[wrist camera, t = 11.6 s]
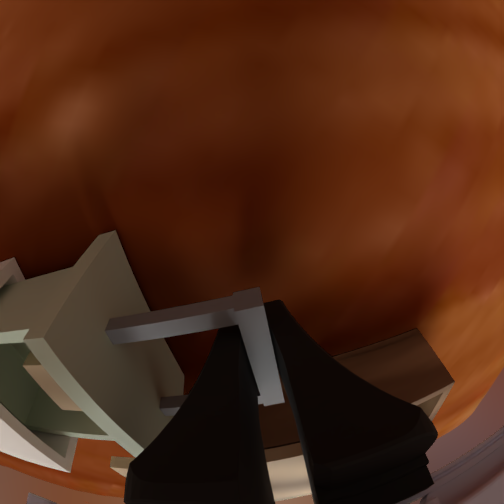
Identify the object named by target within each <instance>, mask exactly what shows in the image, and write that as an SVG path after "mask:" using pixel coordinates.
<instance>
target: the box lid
mask: <svg viewBox="0 0 504 504" xmlns="http://www.w3.org/2000/svg"><path fill="white" fill-rule="evenodd" d="M264 451H265V457H266V462H267V467H268V472H269V477H270V482H271V487H272V491H273V496H274V500H275V501H280V500H286V499H291V498H296V497H301V496H305V495H310V494H312V492H311V487H310V483H309V478H308V474H307V470H306V465H305V461H304V456H303V452H302V448H301V443H296V444H291V445H286V446H282V447H277V448H271V449H266V450H264ZM134 459H135V458H126V457H113V456H112V457H111V463H110V467H111V468H112V469H114V470H115V471H117V472H118V473H120V474H121V475H123V476H124V477H126V476H127V472H128V468H129V463H130V462H131V461H133V460H134ZM312 497H313V496H312Z"/></svg>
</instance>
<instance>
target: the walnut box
mask: <svg viewBox="0 0 504 504" xmlns="http://www.w3.org/2000/svg"><path fill="white" fill-rule="evenodd" d="M333 358H334V359H335V360H337V361H338V362H339V363H340V364H342V365H343V366H344V367H346V368H347V369H349V370H350V371H351V372H353V373H354V374H356V375H357V376H359V377H361V378H362V379H364V380H366V381H367V382H369V383H371V384H372V385H374V386H376V387H377V388H379V389H381V390H383V391H385V392H387V393H389V394H391V395H393V396H395V397H397V398H399V399H402V400H404V401H406V402H409V403H411V404H414V405H416V406H419V407H421V408H422V409H423V411H424V412H425V413H426V415H427V416H428V417H429V419H430V420H431V421H432V420H433V418H434V417H435V415H436V414H437V412H438V410H439V409H440V407H441V405H442V404H443V402H444V400H445V399H446V397H447V395H448V393H449V391H450V390H451V388H452V386H453V384H454V382H455V381H454V380H453V378H452V377H451V375H450V374H449V372H448V371H447V369H446V368H445V366H444V365H443V363H442V362H441V361H440V359H439V358H438V356H437V355H436V354H435V352H434V351H433V349H432V348H431V347H430V345H429V344H428V342H427V341H426V340H425V338H424V337H423V336H422V334H421V333H420V331H419V330H418V329H417V328H416V329H414V330H411V331H409V332H406V333H403V334H401V335H398V336H395V337H393V338H390V339H387V340H384V341H381V342H378V343H375V344H372V345H369V346H366V347H363V348H360V349H357V350H354V351H350V352H347V353H344V354H340V355H337V356H333ZM278 374H279V371H278ZM279 378H280V383H281V388H282V392H283V397H284V402H283V403H279V404H274V405H269V406H264V404H258V408H259V421H260V429H261V435H262V440H263V446H264V450H266V449H271V448H277V447H282V446H286V445H291V444H296V443H300V439H299V435H298V431H297V426H296V422H295V418H294V415H293V412H292V409H291V406H290V403H289V400H288V397H287V394H286V391H285V388H284V385H283V383H282V380H281V377H280V374H279Z"/></svg>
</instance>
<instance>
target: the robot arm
mask: <svg viewBox="0 0 504 504" xmlns="http://www.w3.org/2000/svg"><path fill="white" fill-rule="evenodd" d="M263 304H264V308H265V313H266V318H267V322H268V327H269V332H270V336H271V341H272V346H273V350H274V355H275V360H276V364H277V368H278V371H279V374H280V377H281V380H282V383H283V385H284V388H285V391H286V394H287V397H288V400H289V403H290V406H291V409H292V412H293V415H294V418H295V422H296V426H297V431H298V435H299V439H300V443H301V448H302V452H303V456H304V461H305V465H306V470H307V474H308V478H309V483H310V487H311V492H312V496H313V501H314V504H410V503H412V502H414V501H416V500H418V499H420V498H422V497H423V498H422V499H421V501H420V504H504V426H503V427H502V428H500V429H499V430H498V431H497V432H495V433H494V434H493V435H491V436H490V437H489V438H487V439H486V440H485V441H483V442H482V443H480V444H479V445H477V446H476V447H475V448H473V449H471V450H470V451H468V452H467V453H465V454H464V455H462V456H461V457H459V458H457V459H456V460H454V461H452V462H451V463H449V464H448V465H446V466H444V467H442V468H441V469H439V470H437V471H435V472H433V473H431V474H430V472H429V470H428V468H427V466H426V465H427V464H428V463H429V460H428V458H427V456H426V454H425V453H426V451H427V450H428V449H429V448H430V447H431V446H432V444H433V443H434V442H435V440H436V438H437V436H438V432H437V430H436V428H435V426H434V425H433V423H432V421H431V420H430V419H429V417H428V416H427V415H426V413H425V412H424V411H423V409H422V408H421V407H419V406H416V405H414V404H411V403H409V402H406V401H404V400H402V399H399V398H397V397H395V396H393V395H391V394H389V393H387V392H385V391H383V390H381V389H379V388H377V387H376V386H374V385H372V384H371V383H369V382H367V381H366V380H364V379H362V378H361V377H359V376H357V375H356V374H354V373H353V372H351V371H350V370H349V369H347V368H346V367H344V366H343V365H342V364H340V363H339V362H338V361H337V360H335V359H334V358H333V357H332V356H330V355H329V354H328V353H327V352H326V351H325V350H324V349H323V348H321V347H320V346H319V345H318V344H317V343H316V342H315V341H314V340H313V339H312V338H311V337H310V336H309V335H308V334H307V333H306V331H305V330H304V329H303V328H302V327H301V326H300V325H299V324H298V322H297V321H296V320H295V319H294V317H293V316H292V315H291V314H290V312H289V311H288V309H287V308H286V306H285V305H284V303H283V301H281V300H275V301H271V302H266V303H263ZM124 502H125V504H275V500H274V496H273V491H272V487H271V482H270V477H269V472H268V467H267V462H266V457H265V451H264V446H263V440H262V435H261V429H260V421H259V408H258V392H257V383H256V380H255V377H254V374H253V370H252V367H251V364H250V361H249V358H248V355H247V351H246V348H245V345H244V342H243V338H242V335H241V332H240V329H239V325H233V326H228V327H222V328H219V330H218V333H217V335H216V338H215V341H214V344H213V346H212V349H211V351H210V354H209V356H208V358H207V360H206V363H205V365H204V367H203V369H202V371H201V373H200V375H199V377H198V379H197V381H196V383H195V384H194V386H193V388H192V390H191V391H190V393H189V395H188V396H187V398H186V399H185V401H184V402H183V404H182V405H181V407H180V408H179V410H178V411H177V412H176V414H175V415H174V416H173V418H172V419H171V420H170V422H169V423H168V424H167V425H166V426H165V428H164V429H163V430H162V431H161V432H160V433H159V435H158V436H157V437H156V438H155V439H154V440H153V441H152V442H151V443H150V444H149V445H148V446H147V447H146V448H145V449H144V450H143V451H142V452H141V453H140V454H139V455H138V456H137V457H136V458H135V459H134V460H133V461H131V462H130V463H129V468H128V472H127V476H126V483H125V494H124ZM27 504H57V503H55V502H53V501H50V500H48V499H45V498H43V497H40V496H37V495H35V494H32V493H29V494H28V499H27Z"/></svg>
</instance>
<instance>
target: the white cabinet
mask: <svg viewBox="0 0 504 504" xmlns="http://www.w3.org/2000/svg"><path fill="white" fill-rule="evenodd" d="M24 280H25V278H24V276H23V274H22V272H21V270H20V268H19V266H18V264H17V262H16V260H15V258H14V257H13V258H11V259H8V260H5V261H3V262H0V288H1V287H3V286H6V285H10V284H13V283H17V282H20V281H24ZM77 440H78V437H70V436H63V435H57V434H51V433H45V432H40V431H35V430H30V429H27V428H26V427H25V426H24V425H23V424H22V423H21V422H19V421H18V420H17V419H16V418H15V417H14V416H13V415H12V414H11V413H10V412H9V411H8V410H7V409H6V408H5V407H4V406H3V405H2V404H1V403H0V451H1V452H4V453H6V454H9V455H12V456H14V457H17V458H20V459H23V460H26V461H29V462H32V463H36V464H39V465H42V466H46V467H49V468H53V469H57V470H61V471H65V472H71V467H72V462H73V458H74V453H75V449H76V445H77Z"/></svg>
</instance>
